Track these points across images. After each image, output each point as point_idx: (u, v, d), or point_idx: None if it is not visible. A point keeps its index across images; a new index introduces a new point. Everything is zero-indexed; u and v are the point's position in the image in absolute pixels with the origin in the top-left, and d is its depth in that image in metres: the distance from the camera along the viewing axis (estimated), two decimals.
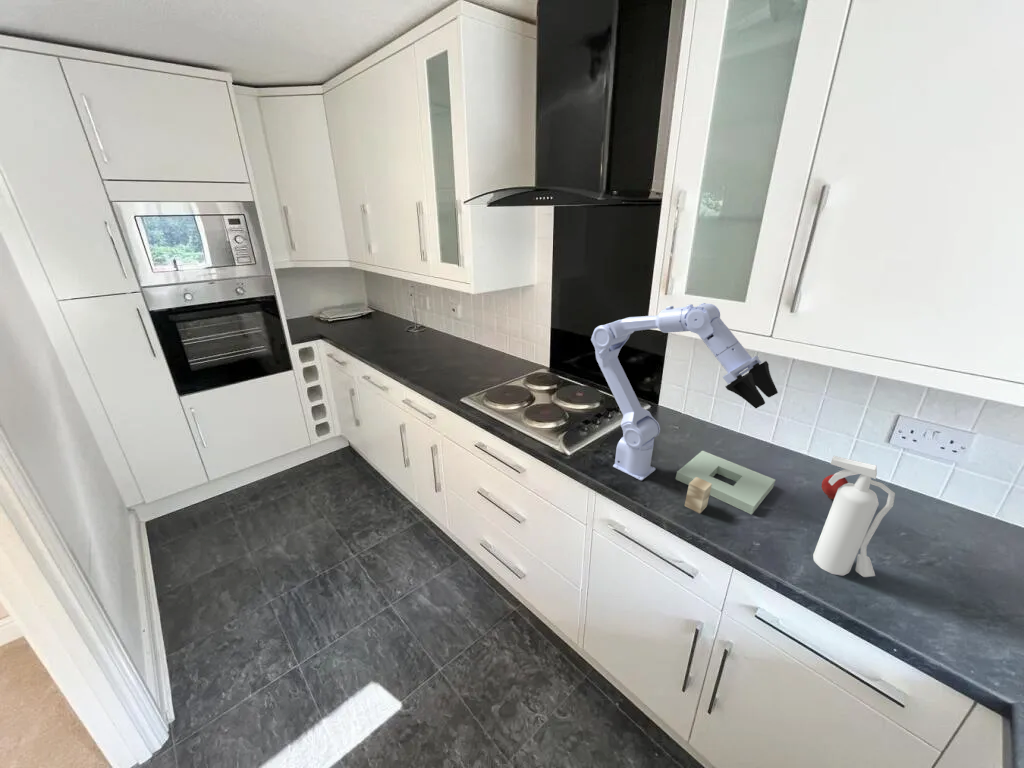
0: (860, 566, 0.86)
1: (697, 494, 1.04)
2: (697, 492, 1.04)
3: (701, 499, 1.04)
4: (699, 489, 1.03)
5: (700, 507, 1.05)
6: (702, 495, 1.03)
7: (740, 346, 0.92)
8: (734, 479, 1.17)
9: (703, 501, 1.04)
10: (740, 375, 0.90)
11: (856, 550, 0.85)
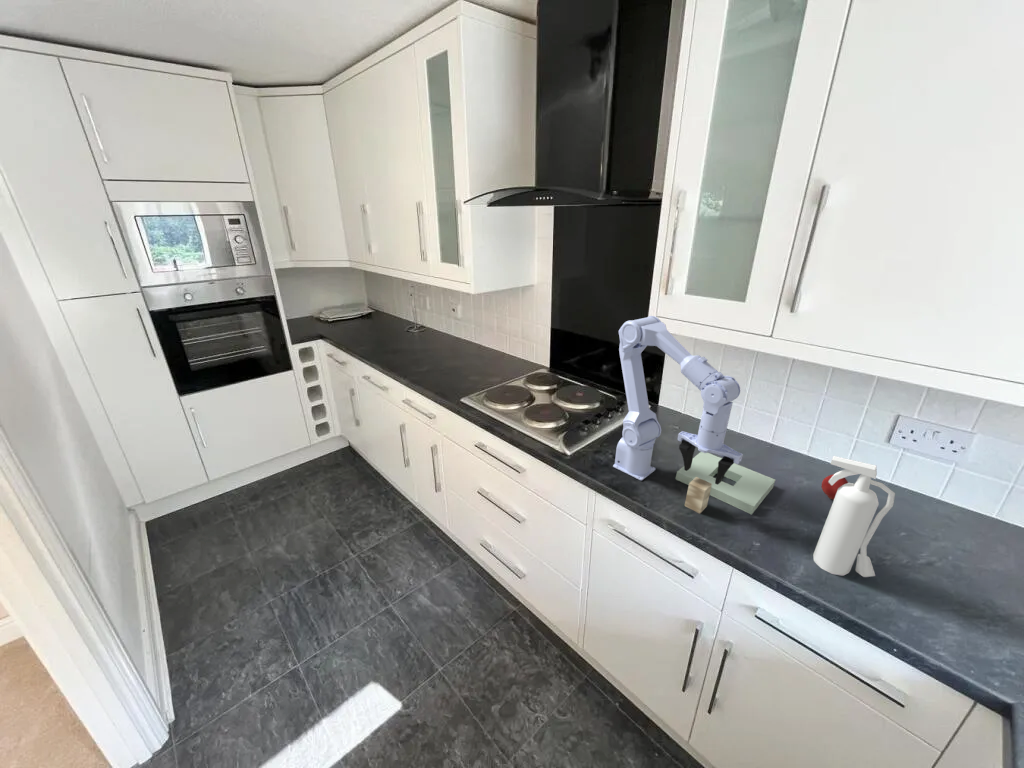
0: (860, 566, 0.86)
1: (697, 494, 1.04)
2: (697, 492, 1.04)
3: (701, 499, 1.04)
4: (699, 489, 1.03)
5: (700, 507, 1.05)
6: (702, 495, 1.03)
7: (706, 434, 0.97)
8: (734, 479, 1.17)
9: (703, 501, 1.04)
10: (689, 444, 1.03)
11: (856, 550, 0.85)
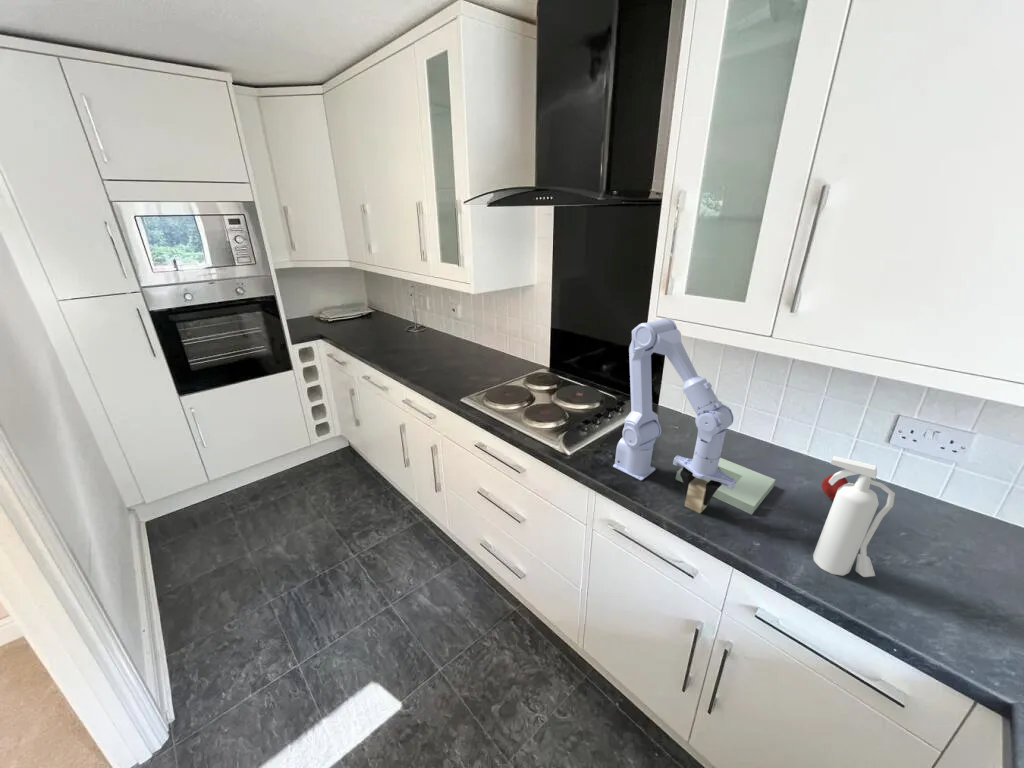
0: (860, 566, 0.86)
1: (697, 494, 1.04)
2: (697, 492, 1.04)
3: (701, 499, 1.04)
4: (699, 489, 1.03)
5: (700, 507, 1.05)
6: (702, 495, 1.03)
7: (700, 460, 1.00)
8: None
9: (703, 501, 1.04)
10: (684, 468, 1.06)
11: (856, 550, 0.85)
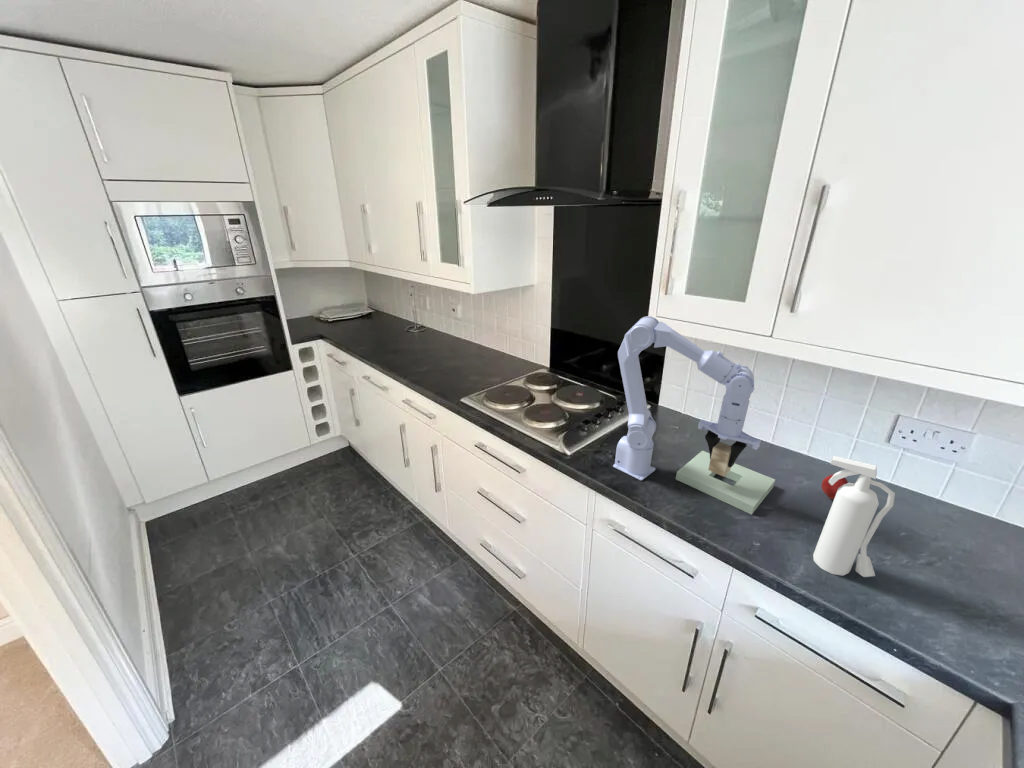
0: (860, 566, 0.86)
1: (721, 458, 1.07)
2: (721, 455, 1.07)
3: (725, 462, 1.06)
4: (723, 452, 1.06)
5: (724, 470, 1.07)
6: (726, 458, 1.06)
7: (726, 422, 1.03)
8: (734, 479, 1.17)
9: (727, 464, 1.07)
10: (709, 431, 1.09)
11: (856, 550, 0.85)
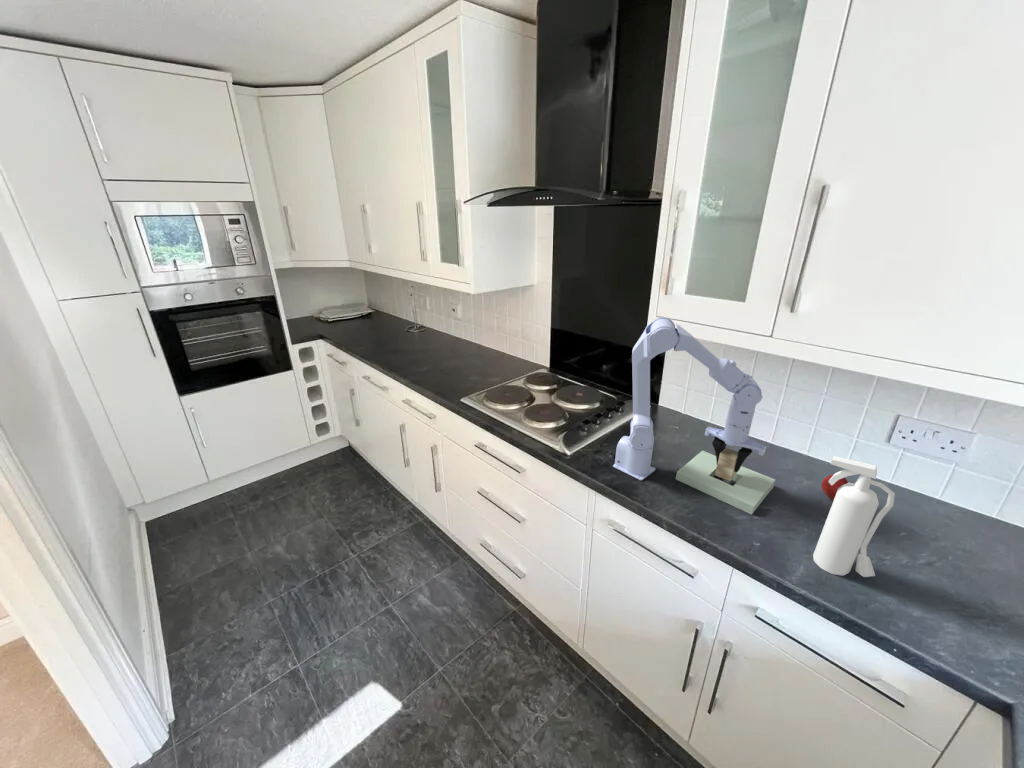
0: (860, 566, 0.86)
1: (728, 463, 1.11)
2: (728, 461, 1.11)
3: (732, 467, 1.11)
4: (730, 458, 1.11)
5: (730, 475, 1.12)
6: (733, 463, 1.10)
7: (732, 429, 1.08)
8: (734, 479, 1.17)
9: (733, 469, 1.11)
10: (715, 438, 1.14)
11: (856, 550, 0.85)
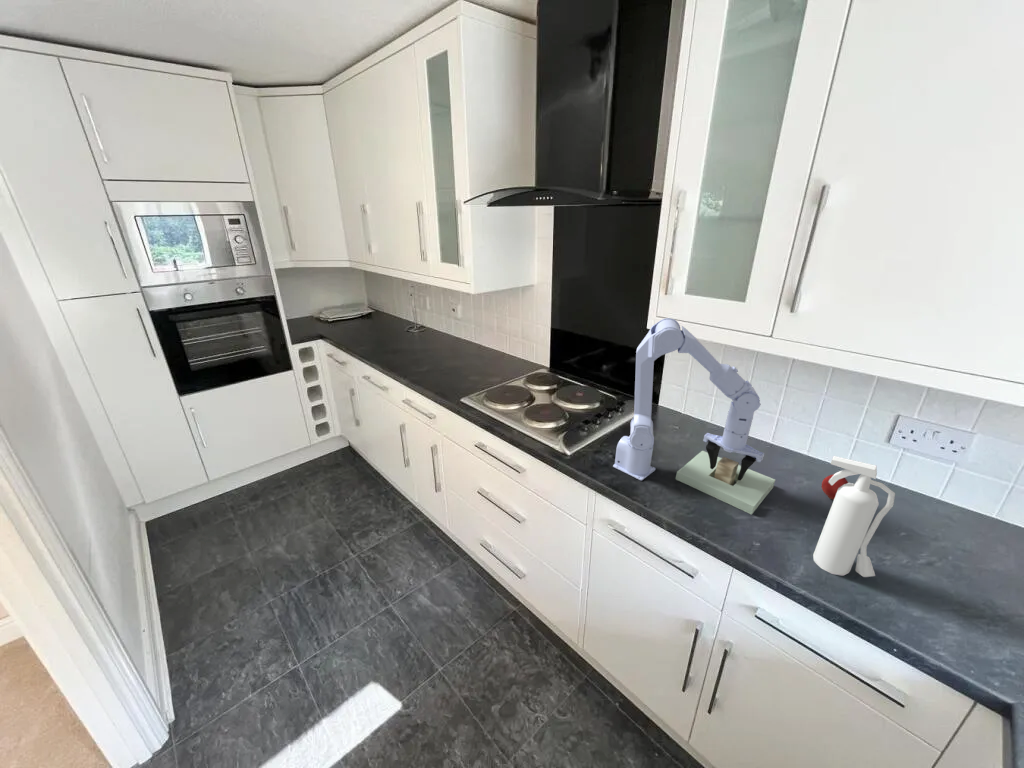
0: (860, 566, 0.86)
1: (725, 472, 1.13)
2: (725, 470, 1.12)
3: (729, 477, 1.12)
4: (727, 467, 1.12)
5: None
6: (730, 473, 1.12)
7: (731, 436, 1.08)
8: None
9: (731, 478, 1.13)
10: (714, 444, 1.14)
11: (856, 550, 0.85)
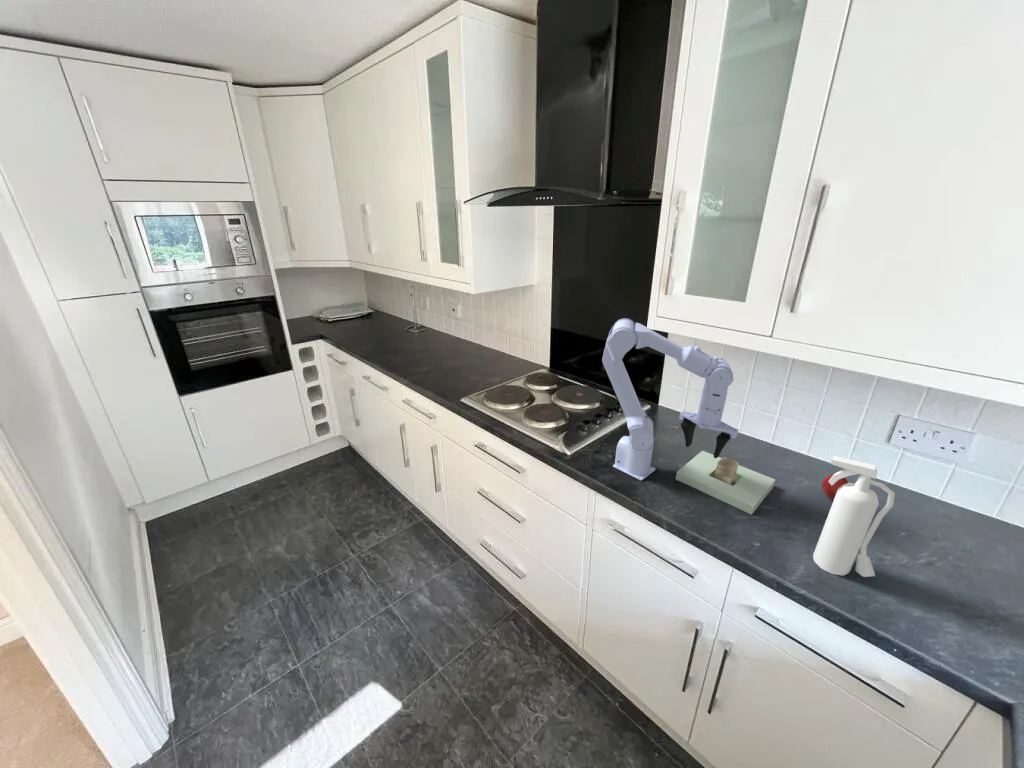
0: (860, 566, 0.86)
1: (725, 472, 1.13)
2: (725, 470, 1.12)
3: (729, 477, 1.12)
4: (727, 467, 1.12)
5: None
6: (730, 473, 1.12)
7: (705, 412, 1.08)
8: None
9: (731, 478, 1.13)
10: (690, 422, 1.14)
11: (856, 550, 0.85)
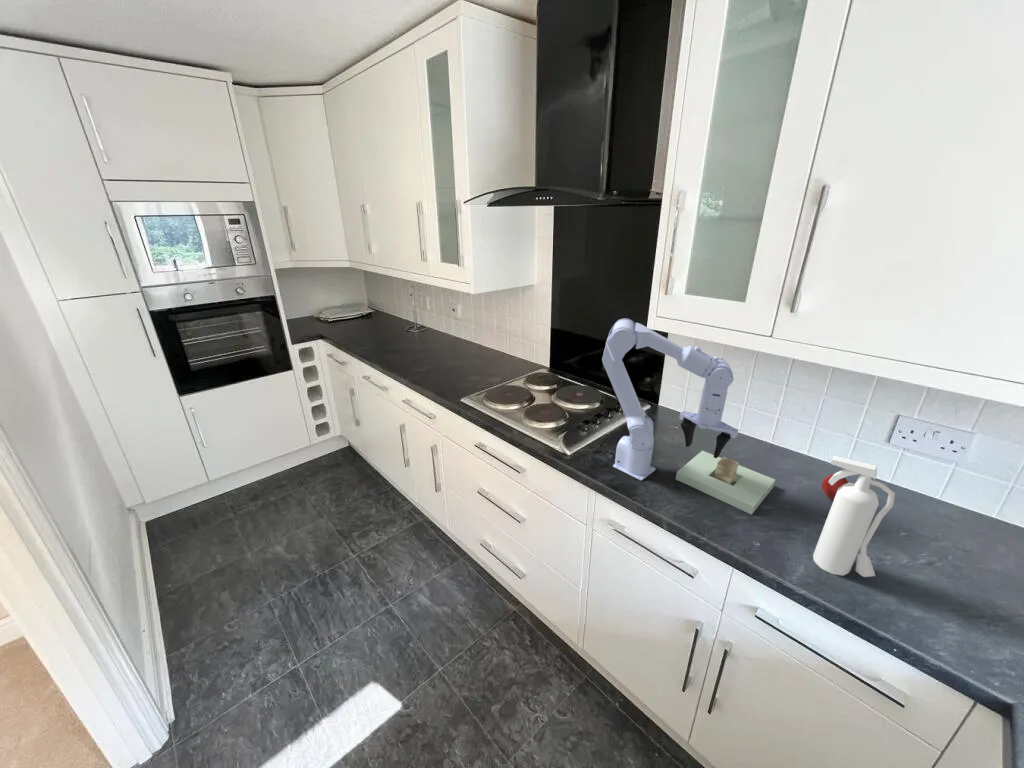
0: (860, 566, 0.86)
1: (725, 472, 1.13)
2: (725, 470, 1.12)
3: (729, 477, 1.12)
4: (727, 467, 1.12)
5: None
6: (730, 473, 1.12)
7: (705, 412, 1.08)
8: None
9: (731, 478, 1.13)
10: (690, 422, 1.14)
11: (856, 550, 0.85)
